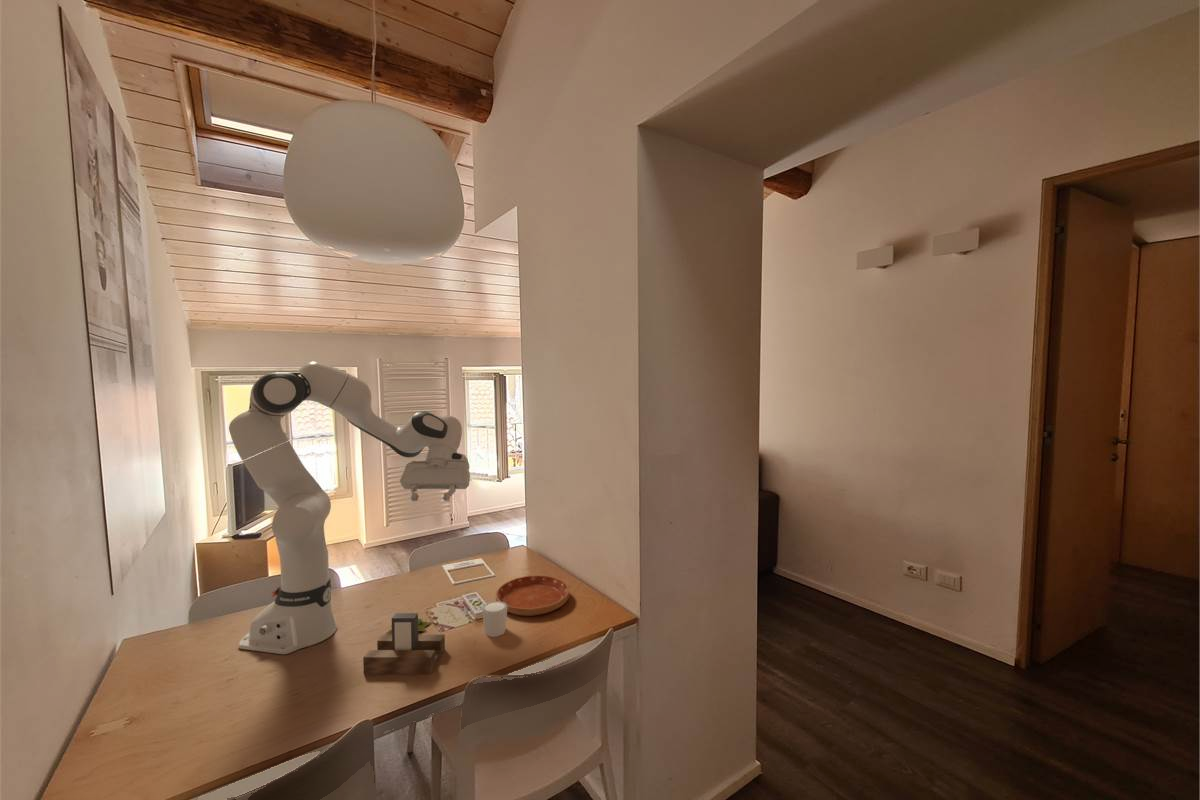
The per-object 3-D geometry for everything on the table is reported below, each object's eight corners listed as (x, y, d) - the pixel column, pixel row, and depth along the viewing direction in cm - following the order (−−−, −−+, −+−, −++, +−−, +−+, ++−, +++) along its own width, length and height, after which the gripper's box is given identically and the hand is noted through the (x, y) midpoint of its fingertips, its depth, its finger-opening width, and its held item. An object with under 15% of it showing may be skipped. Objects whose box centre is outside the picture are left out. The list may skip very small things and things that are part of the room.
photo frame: (481, 557, 183) (494, 574, 167) (481, 560, 183) (494, 577, 167) (442, 564, 176) (452, 583, 160) (442, 567, 176) (452, 586, 160)
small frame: (392, 658, 115) (391, 618, 115) (396, 652, 118) (396, 613, 118) (414, 658, 115) (413, 618, 115) (418, 652, 118) (418, 613, 118)
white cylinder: (501, 639, 127) (501, 613, 127) (477, 636, 128) (477, 611, 128) (511, 626, 134) (511, 602, 133) (488, 623, 135) (488, 599, 135)
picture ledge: (363, 673, 112) (363, 657, 112) (382, 649, 122) (382, 634, 122) (431, 673, 112) (430, 657, 112) (444, 649, 122) (444, 634, 122)
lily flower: (404, 617, 139) (404, 602, 139) (440, 622, 136) (440, 607, 136) (375, 638, 128) (375, 622, 127) (413, 645, 125) (413, 628, 124)
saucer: (544, 627, 134) (544, 614, 134) (480, 610, 143) (480, 598, 143) (581, 593, 154) (581, 582, 154) (523, 581, 164) (523, 570, 164)
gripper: (404, 455, 146) (391, 494, 136) (470, 455, 146) (461, 494, 136) (410, 467, 150) (398, 505, 141) (474, 467, 150) (466, 505, 141)
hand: (429, 500), depth 139 cm, fingers open, 8 cm apart
